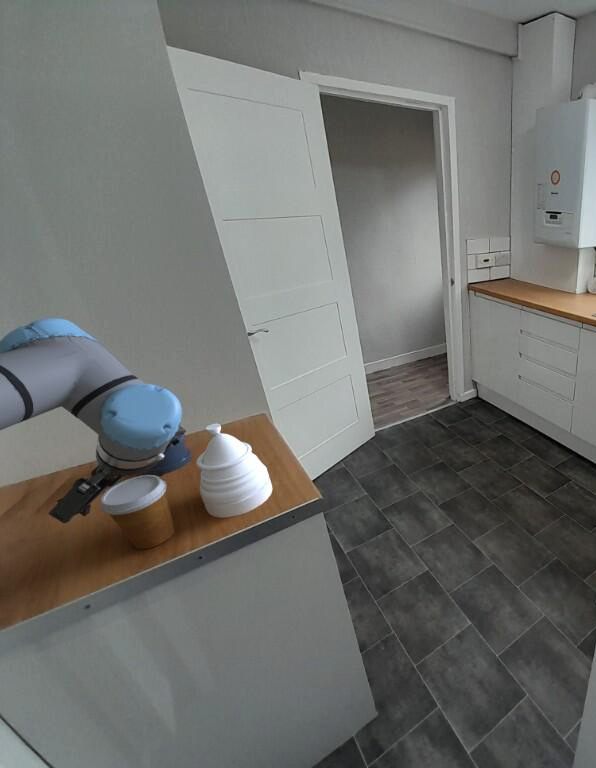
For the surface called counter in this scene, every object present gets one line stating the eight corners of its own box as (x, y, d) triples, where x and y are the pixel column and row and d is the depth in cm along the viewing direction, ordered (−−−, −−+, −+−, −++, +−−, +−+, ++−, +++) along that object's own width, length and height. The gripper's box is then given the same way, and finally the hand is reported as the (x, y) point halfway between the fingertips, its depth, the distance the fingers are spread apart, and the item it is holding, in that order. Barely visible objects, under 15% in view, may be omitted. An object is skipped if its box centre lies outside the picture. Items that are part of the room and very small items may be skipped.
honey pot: (196, 501, 91) (168, 433, 83) (255, 472, 101) (235, 408, 93) (222, 526, 85) (194, 454, 77) (283, 492, 94) (264, 426, 86)
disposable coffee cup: (112, 547, 79) (85, 499, 74) (164, 514, 87) (143, 469, 82) (144, 561, 76) (118, 512, 71) (195, 526, 84) (175, 479, 79)
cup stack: (132, 479, 98) (115, 440, 93) (152, 456, 107) (137, 419, 102) (183, 472, 101) (169, 433, 96) (198, 450, 110) (186, 414, 106)
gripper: (62, 534, 52) (62, 553, 65) (226, 407, 70) (200, 443, 83) (2, 497, 50) (15, 525, 63) (187, 376, 68) (167, 418, 81)
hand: (120, 478), depth 73 cm, fingers open, 13 cm apart
